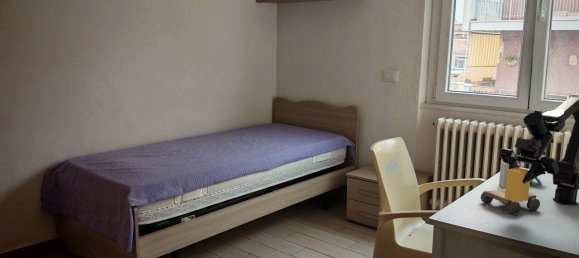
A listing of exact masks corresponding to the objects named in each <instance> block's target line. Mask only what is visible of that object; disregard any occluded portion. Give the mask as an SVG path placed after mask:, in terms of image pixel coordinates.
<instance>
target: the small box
mask: <svg viewBox="0 0 579 258" xmlns="http://www.w3.org/2000/svg"><path fill="white" fill-rule="evenodd" d="M518 166H519V167H520V164H519V163H518ZM520 168H521V167H520ZM508 169H509V164H506V163H504V162H503V160H502V159H501V160H500V169H499V180H498V184H499V185H500V186H501V189H504V188H506V179H507V170H508Z"/></svg>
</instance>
